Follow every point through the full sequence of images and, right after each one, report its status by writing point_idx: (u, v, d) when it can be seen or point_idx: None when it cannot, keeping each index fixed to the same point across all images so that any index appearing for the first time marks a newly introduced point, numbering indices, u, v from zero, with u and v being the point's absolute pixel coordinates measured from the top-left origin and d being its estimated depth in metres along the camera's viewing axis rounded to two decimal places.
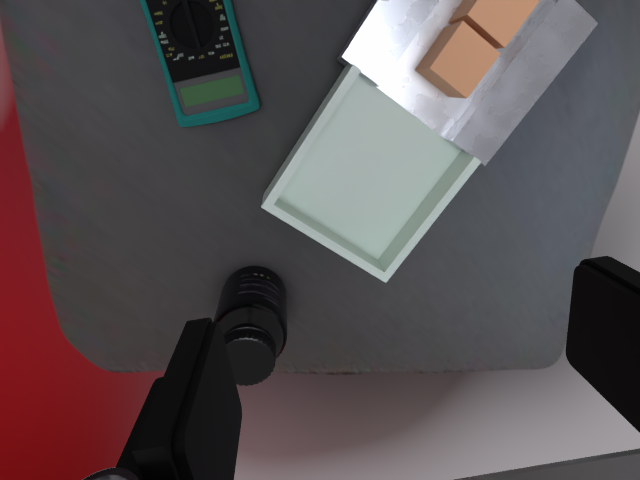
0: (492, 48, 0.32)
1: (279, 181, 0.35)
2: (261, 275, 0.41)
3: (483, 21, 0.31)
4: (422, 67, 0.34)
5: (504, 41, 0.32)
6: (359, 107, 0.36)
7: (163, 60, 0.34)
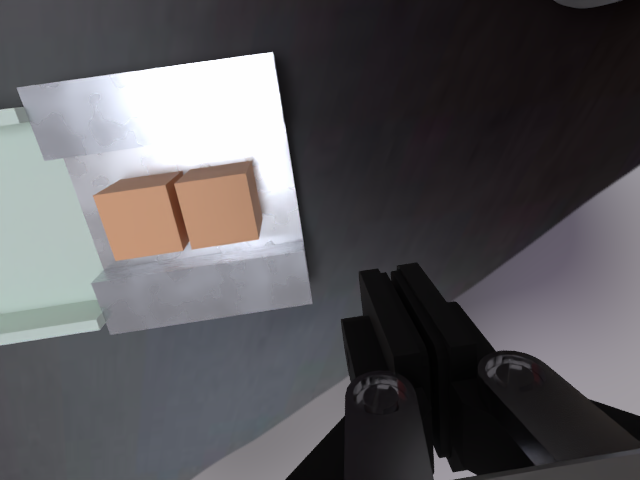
0: (177, 238, 0.24)
1: None
2: None
3: (186, 205, 0.23)
4: (111, 186, 0.25)
5: (195, 243, 0.24)
6: (26, 157, 0.25)
7: None
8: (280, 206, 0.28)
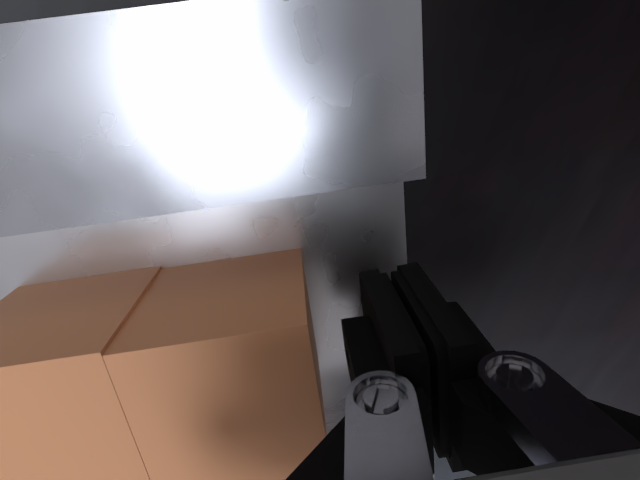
0: (141, 473, 0.09)
1: None
2: None
3: (140, 407, 0.08)
4: None
5: None
6: None
7: None
8: None
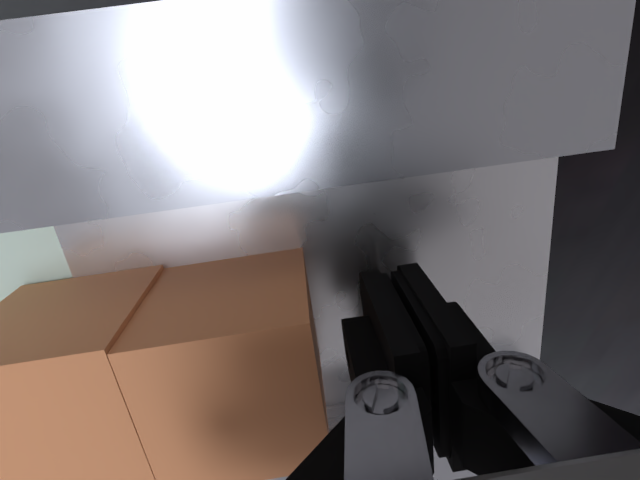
0: (145, 469, 0.09)
1: None
2: None
3: (145, 405, 0.08)
4: None
5: None
6: None
7: None
8: (509, 310, 0.13)
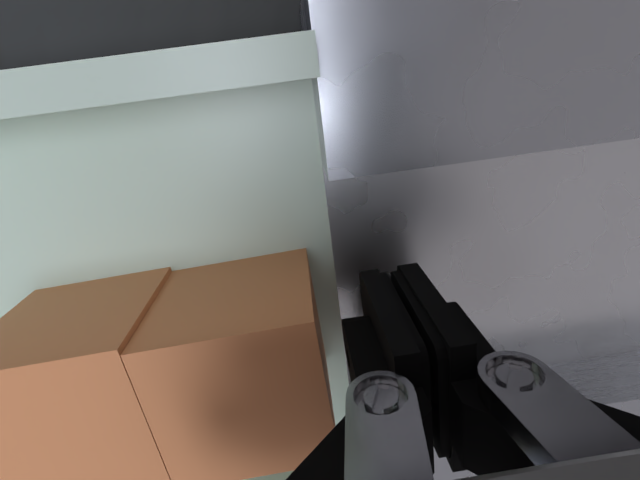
0: (158, 464, 0.09)
1: None
2: None
3: (157, 403, 0.09)
4: (0, 323, 0.10)
5: (184, 479, 0.10)
6: (240, 169, 0.11)
7: None
8: None
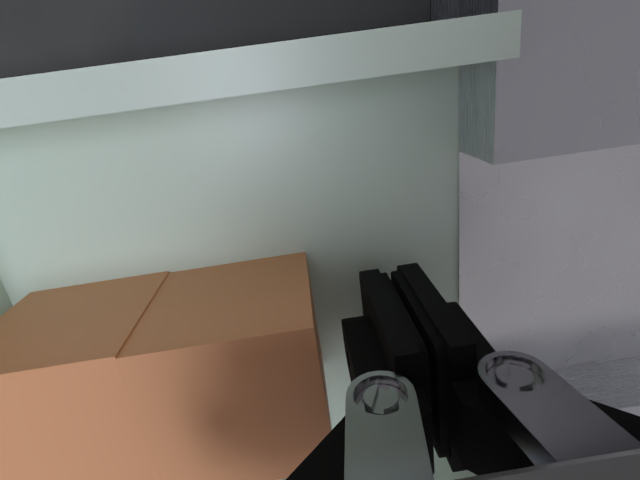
0: (154, 472, 0.09)
1: None
2: None
3: (152, 408, 0.09)
4: None
5: None
6: (377, 156, 0.11)
7: None
8: None
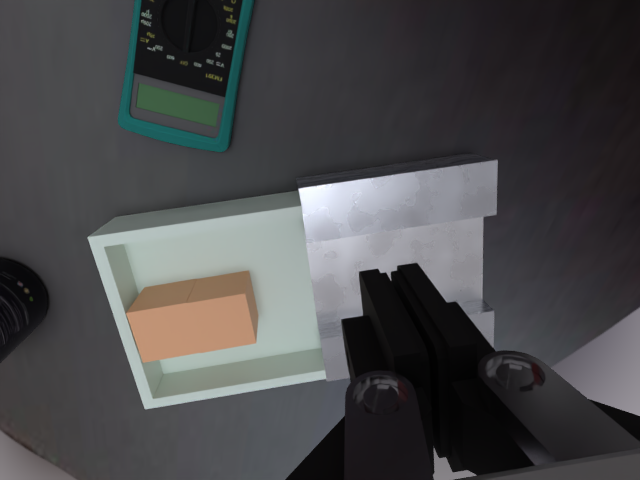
0: (195, 343, 0.29)
1: (132, 232, 0.27)
2: (26, 290, 0.30)
3: (196, 319, 0.28)
4: (139, 298, 0.29)
5: (203, 348, 0.29)
6: (275, 236, 0.31)
7: (134, 42, 0.26)
8: (469, 272, 0.33)
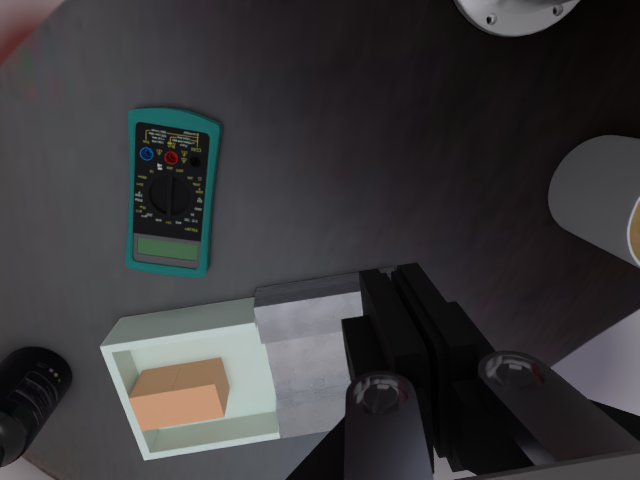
0: (179, 417, 0.39)
1: (131, 342, 0.37)
2: (56, 374, 0.40)
3: (179, 402, 0.38)
4: (138, 382, 0.40)
5: (185, 421, 0.39)
6: (240, 333, 0.41)
7: (131, 213, 0.35)
8: None
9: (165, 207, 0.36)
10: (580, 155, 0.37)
